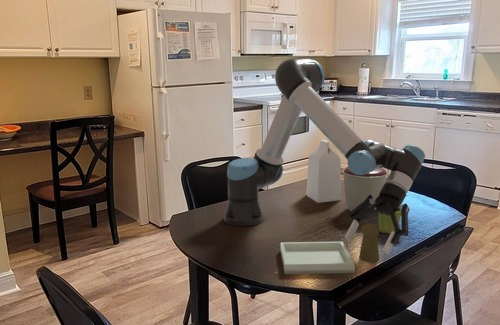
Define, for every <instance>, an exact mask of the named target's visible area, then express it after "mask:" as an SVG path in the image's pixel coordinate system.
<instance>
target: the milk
mask: <svg viewBox="0 0 500 325" xmlns="http://www.w3.org/2000/svg"><path fill="white" fill-rule="evenodd" d="M330 143H331V142H330V141H328V140H325V139H320V141H319V145H318V146H317V147H316V148H315V149H314V150H313V151H312V152H311V153H310V154H309V157H308V164H307V165H308V166H307V177H306V178H307V179H306V193H305V195H307V197H308V198H310V199H311V200H312V201H314V202H316V203H318V204H319V203H326V202H335V201H342V161H341V160H342V159H341V158H340V157H339V156H338V154H337V153H336V152H335V150H334V149H333V148H332V147H331V144H330Z"/></svg>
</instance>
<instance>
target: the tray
mask: <svg viewBox="0 0 500 325" xmlns="http://www.w3.org/2000/svg"><path fill="white" fill-rule="evenodd" d="M279 243H280V248H279V251H280V257H281V262H282V266H283V272H284V275H303V274H304V275H310V274H311V275H312V274H313V275H315V274H320V275H322V274H323V275H324V274H326V275H327V274H355V269H356V268H355V265H356V264H355V261H354V260H353V257H352V256H351V253H350V252H349V251H348V249H347V247H346V245H345V244H344V241H297V242H296V241H293V242H292V241H291V242H289V241H287V242H283V241H282V242H279Z"/></svg>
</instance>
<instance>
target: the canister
mask: <svg viewBox="0 0 500 325" xmlns="http://www.w3.org/2000/svg"><path fill="white" fill-rule="evenodd" d="M341 174H343V186H344V197H345V205H346V208H347V209H348V210H349V211H350V212H351V211H353V210H354V209H355V208H356V207H357V206H359V205H360V204H361V203H362V202H364V201H365V200H366V198H367V197H368V196H369V195H371V196H372V197H374V198H377V197H378V196H379V193H380V191H381V189H382V187H383V185H384V184H385V181H386V179H387V177H388V176H389V171H388V170H386V169H385V168H383V167H382V168H380V167H379V168H377V169H375V170H373V171H372V172H370V173H368V174H364V175H356V174H354V173H353V172H351V171H350V169H349V167H348V166H346V168H345V167H344V168H343V169H341ZM374 203H375V202H374ZM372 205H373V204H372ZM375 209H376V208H375Z"/></svg>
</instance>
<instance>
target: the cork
mask: <svg viewBox="0 0 500 325" xmlns="http://www.w3.org/2000/svg"><path fill="white" fill-rule="evenodd" d="M361 226H362V227H361V233H362V240H361V244H360V245H361V246H360V250H359V255H358V259H359V260H361V261H362V262H363V261H364V262H367V263H376V262H378V261H379V260H380V253H379V240H378V239H379V238H378V235H379V233H380V230H379V224H376V223H373V222H366V223H363V225H361Z"/></svg>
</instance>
